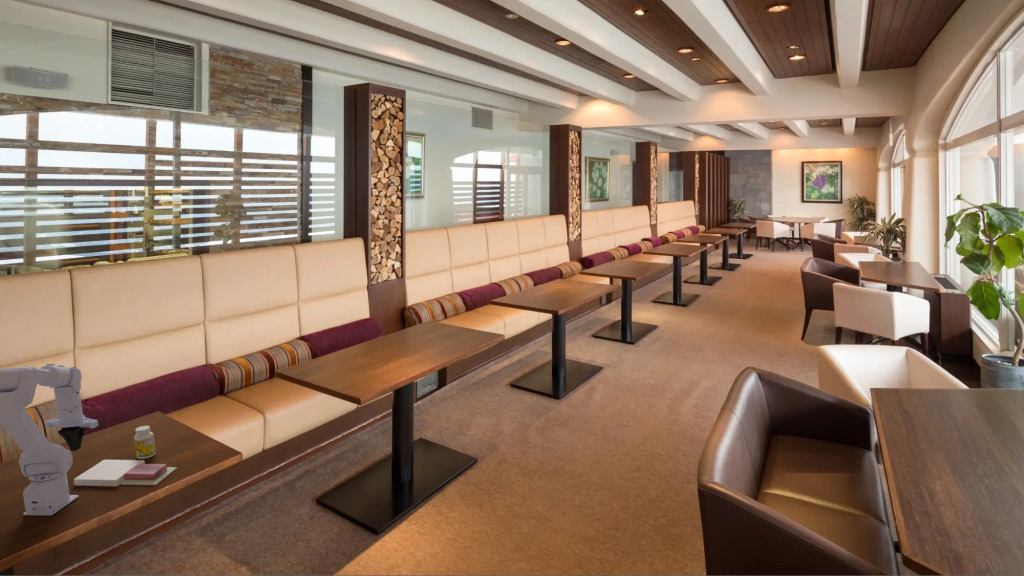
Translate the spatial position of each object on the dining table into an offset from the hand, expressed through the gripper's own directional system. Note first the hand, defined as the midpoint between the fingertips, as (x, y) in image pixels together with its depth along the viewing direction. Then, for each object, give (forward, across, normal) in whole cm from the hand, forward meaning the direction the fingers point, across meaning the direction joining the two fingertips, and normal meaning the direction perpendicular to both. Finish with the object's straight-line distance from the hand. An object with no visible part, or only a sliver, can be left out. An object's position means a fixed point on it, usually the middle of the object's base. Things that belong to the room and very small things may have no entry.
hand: (75, 449), depth 168 cm
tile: (+8, -19, -2) cm, 21 cm away
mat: (+9, -20, -2) cm, 22 cm away
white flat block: (+9, -8, -2) cm, 13 cm away
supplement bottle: (+10, -10, -15) cm, 20 cm away
